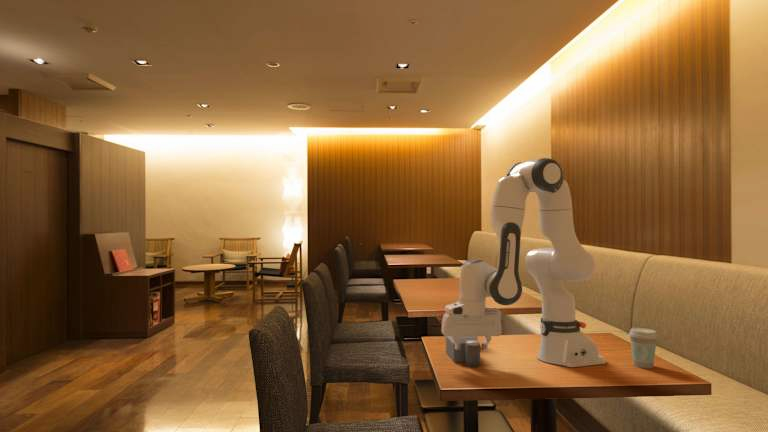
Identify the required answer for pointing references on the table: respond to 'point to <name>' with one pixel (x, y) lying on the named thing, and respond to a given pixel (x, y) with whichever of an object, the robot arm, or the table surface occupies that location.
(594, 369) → the table surface
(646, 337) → the coffee cup
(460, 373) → the table surface
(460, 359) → the camera body
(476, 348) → the lens
